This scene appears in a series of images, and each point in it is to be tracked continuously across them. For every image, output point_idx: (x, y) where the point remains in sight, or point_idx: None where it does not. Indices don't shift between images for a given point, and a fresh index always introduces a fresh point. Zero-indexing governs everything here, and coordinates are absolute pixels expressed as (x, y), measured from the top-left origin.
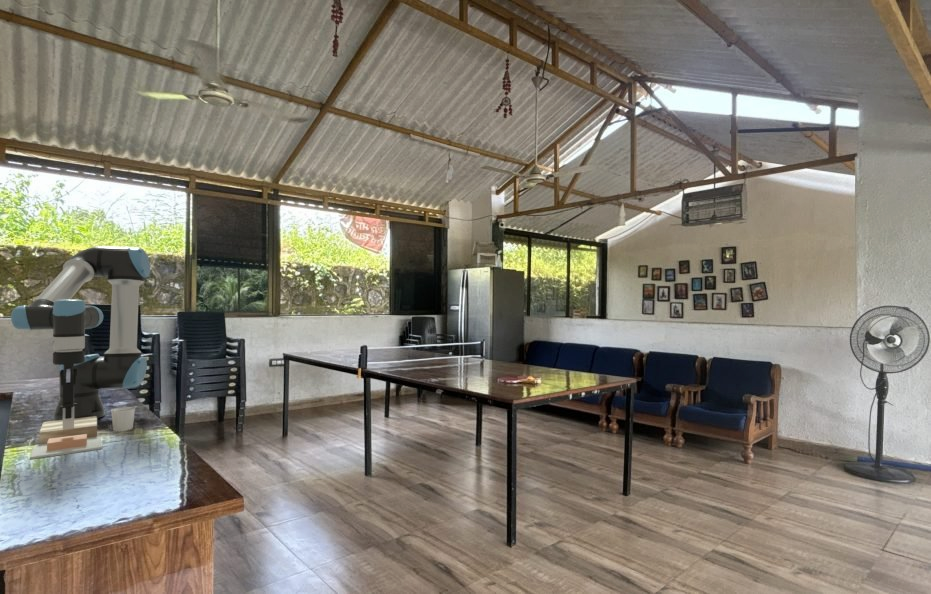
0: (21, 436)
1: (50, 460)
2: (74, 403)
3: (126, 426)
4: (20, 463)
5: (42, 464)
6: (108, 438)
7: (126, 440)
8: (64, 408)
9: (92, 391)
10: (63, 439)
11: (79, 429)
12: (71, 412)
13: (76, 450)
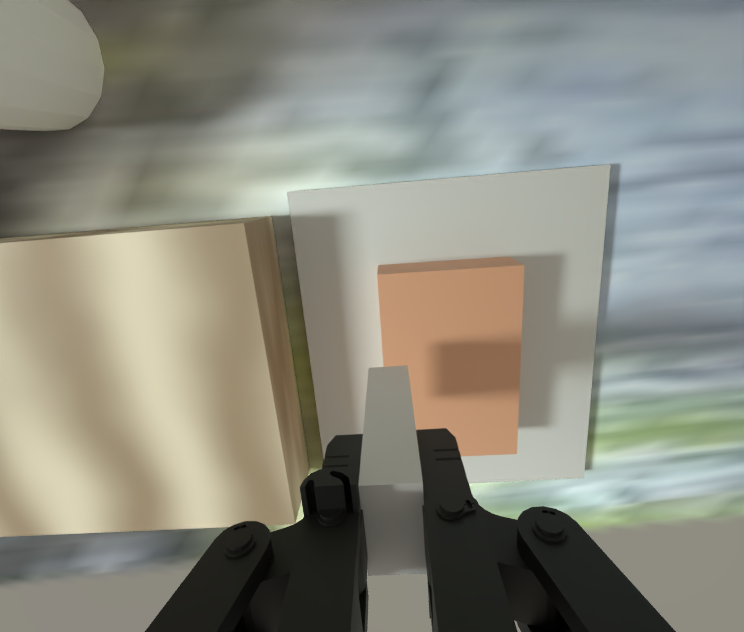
0: (53, 554)
1: (672, 390)
2: (330, 508)
3: (73, 18)
4: (629, 492)
5: (728, 412)
6: (316, 144)
7: (452, 11)
8: (424, 553)
9: None
10: (465, 388)
11: (266, 329)
12: (421, 461)
13: (598, 297)
